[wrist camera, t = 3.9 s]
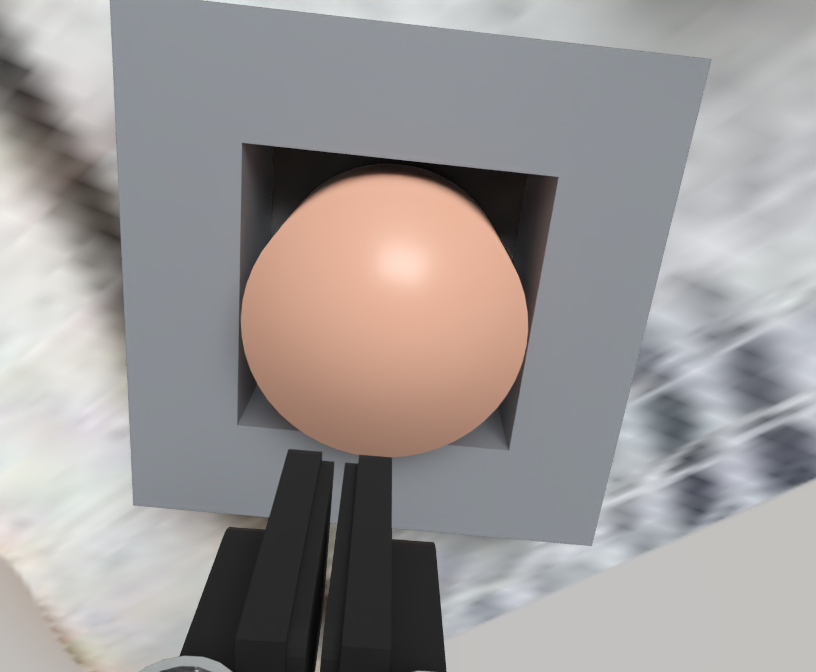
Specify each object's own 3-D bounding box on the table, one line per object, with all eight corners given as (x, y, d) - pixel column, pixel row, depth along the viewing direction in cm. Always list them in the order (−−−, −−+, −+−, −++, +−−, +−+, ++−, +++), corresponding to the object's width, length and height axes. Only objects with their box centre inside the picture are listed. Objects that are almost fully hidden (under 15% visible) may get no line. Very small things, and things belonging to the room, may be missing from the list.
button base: (650, 60, 23) (711, 59, 18) (562, 468, 29) (591, 546, 24) (171, 5, 23) (109, -10, 18) (178, 433, 28) (133, 505, 24)
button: (522, 177, 23) (551, 205, 18) (486, 395, 25) (504, 469, 21) (278, 150, 22) (243, 172, 18) (270, 374, 25) (238, 444, 21)
